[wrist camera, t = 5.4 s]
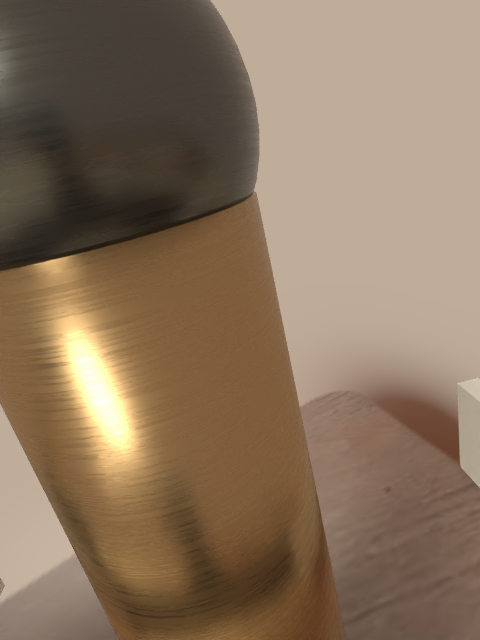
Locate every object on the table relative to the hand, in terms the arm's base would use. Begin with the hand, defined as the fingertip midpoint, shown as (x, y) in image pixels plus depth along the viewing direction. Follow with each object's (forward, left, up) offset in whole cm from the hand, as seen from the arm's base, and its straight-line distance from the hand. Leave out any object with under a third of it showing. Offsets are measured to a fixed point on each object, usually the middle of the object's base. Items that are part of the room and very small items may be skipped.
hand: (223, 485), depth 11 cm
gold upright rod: (0, -3, -15) cm, 15 cm away
